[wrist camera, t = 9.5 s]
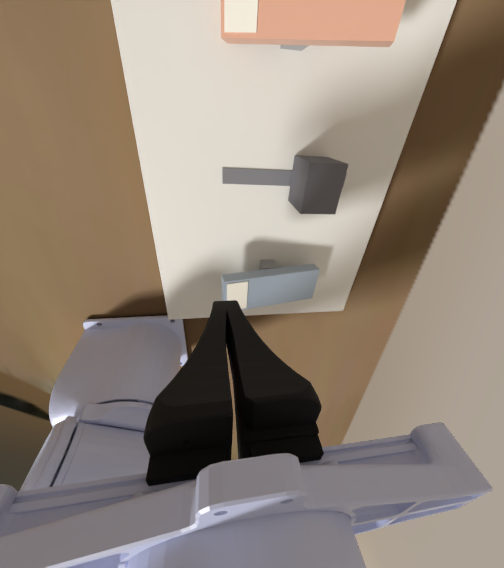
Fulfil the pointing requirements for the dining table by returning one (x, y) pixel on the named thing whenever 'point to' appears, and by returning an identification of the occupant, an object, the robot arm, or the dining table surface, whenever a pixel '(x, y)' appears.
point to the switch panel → (264, 144)
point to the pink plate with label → (311, 22)
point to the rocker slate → (270, 286)
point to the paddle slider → (316, 184)
